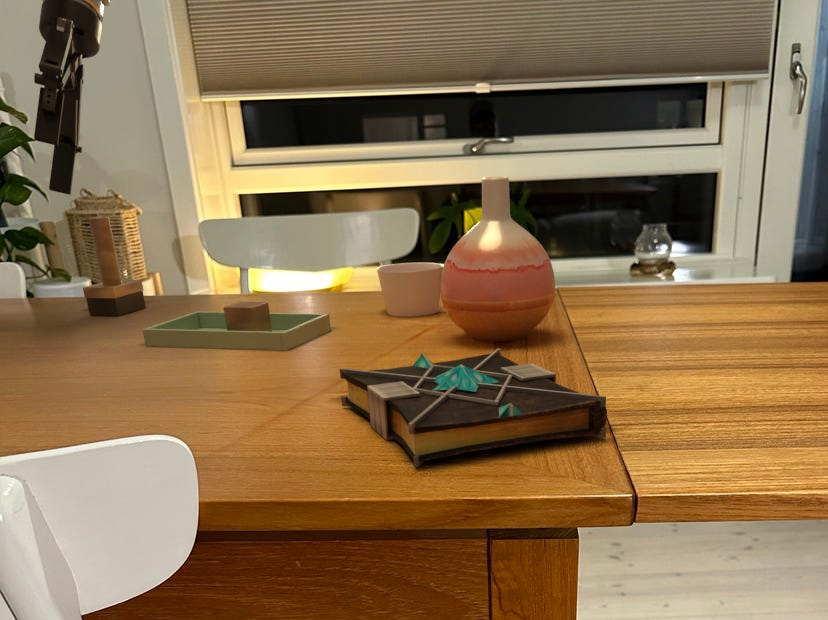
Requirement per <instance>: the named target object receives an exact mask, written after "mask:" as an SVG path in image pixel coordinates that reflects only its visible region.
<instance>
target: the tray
mask: <svg viewBox="0 0 828 620" xmlns="http://www.w3.org/2000/svg"><path fill="white" fill-rule="evenodd" d="M330 318H331V317H330V314H329V313H309V312H308V313H307V312H305V313H303V312H302V313H301V312H299V313H298V312H270V319H271V327H272V332H268V331H227V326H226V320H225V314H224V311H200V310H199V311H198V310H197V311H193V312H191V313H187V314H184V315H182V316H178V317H175V318H172V319H170V320H167V321H163V322H160V323H158V324H155V325H151V326H149V327H145V328H143V329H142V334H143V340H144V344H145V347H146V348H147V347H148V348H175V349H176V348H180V349H207V350H209V349H210V350H240V351H241V350H244V351H245V350H246V351H276V352H277V351H278V352H289V351H291V350H293V349H295V348H297V347H299V346H301V345H303V344H305V343H308V342H311V341H312V340H313V339H316V338H318V337H320V336H322V335H325V334H327V333H329V332H331V330H332V328H331V327H332V326H331V319H330Z"/></svg>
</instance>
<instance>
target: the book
mask: <svg viewBox="0 0 828 620" xmlns="http://www.w3.org/2000/svg"><path fill="white" fill-rule="evenodd" d="M501 349H502V348H496V349H495V350H494V351H493V352H491V353H486V354H480V355H475V356H470V357H465V358H464V357H463V358H459V359H452V360H448V361H439V362H432V361H431V360H430V359H429V358H428V357H427V356H426V355H424V354H423V353H421V354H420V355H419V357H418V358H417V360H415V362H414V363H413V365H407V366H400V367H399V366H398V367H392V368H381V369H371V370H363V369H354V368H345V367H341V368H339V376H340V379H342V380H345V381H346V383H347V393H348V394H347V395H341V397H340V399H341V400H340V401H341V406H342V407H347V408H352V409H354V410H356V411H357V412H359V413H360V414H362V415H363V416H364V417H366V418H368V420H369V423H370V425H369V426H370V428H372V429H373V430H374V431H375V432H376V433H377V434H379V435H380V436H381V437H382V438H383V439H384V440H386V441H392V440H396V441H397V442H398V443H400V444H401V446H402V447H403V449H405V451H406V453H408V455H409V456H410V458H411V459H412V460H413V467H414V468H419V467H420V466H421V465H422V464H423V463H424V462H426V461H432V460H437V459H441V458H447V457H450V456H451V457H452V456H456V455H461V454H465V453H471V452H477V451H482V450H483V451H484V450H489V449H497V448H502V447H507V446H515V445H516V446H517V445H521V444H528V443H533V442H534V443H535V442H541V441H550V440H560V439H568V438H578V437H579V438H580V437H591V438H600V439H606V438H607V427H606V425H607V423H608V409H607V396H606V395H598V394H590V393H581V392H578V391H576V390H574V389H571V388H568V387H566V386H564V385H561V384H558V383H557V378H556V377H557V373H554V372H553V371H550V370H549V369H546V368H544V367H541V366H539V365H537V364H535V363H532V362H531V363H526V364H525V363H524V364H519V363H516V362H514V361H512V360H511V359H509V358H507V357H505V356H504V355H502V351H501Z"/></svg>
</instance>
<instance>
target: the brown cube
mask: <svg viewBox="0 0 828 620" xmlns="http://www.w3.org/2000/svg"><path fill="white" fill-rule="evenodd" d="M223 312H224V314H225V320H226V326H227V331H268V332H272V327H271V319H270V313H271V312H270V306H269V302H268V301H238V302H235V303H232V304H229V305H226V306H224V307H223Z"/></svg>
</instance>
